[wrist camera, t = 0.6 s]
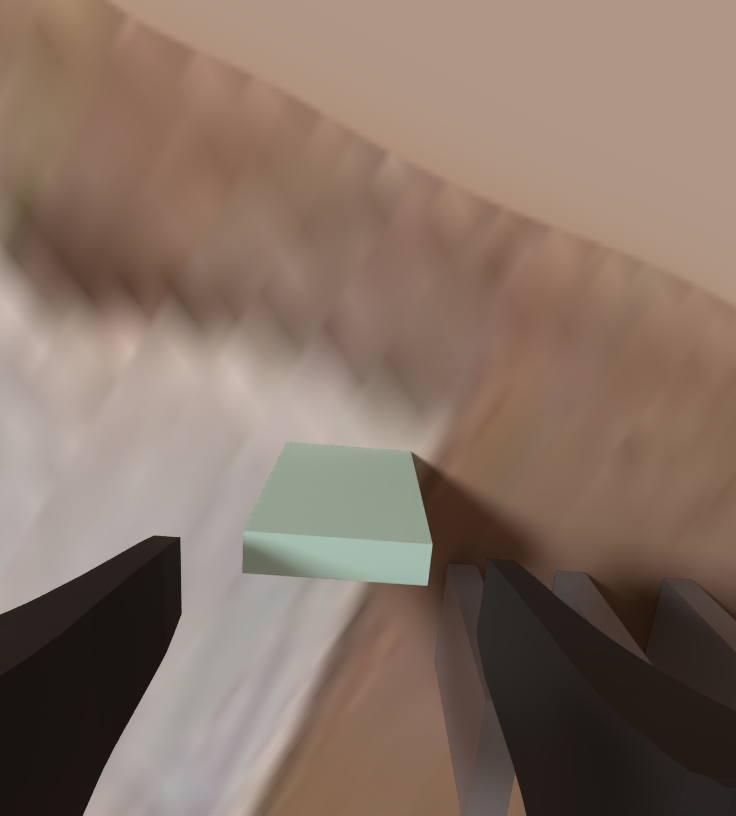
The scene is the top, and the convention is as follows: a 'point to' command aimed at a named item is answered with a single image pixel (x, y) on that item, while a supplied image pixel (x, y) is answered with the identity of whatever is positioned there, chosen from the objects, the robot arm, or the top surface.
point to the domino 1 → (470, 701)
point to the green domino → (340, 517)
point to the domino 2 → (593, 608)
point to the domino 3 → (694, 641)
